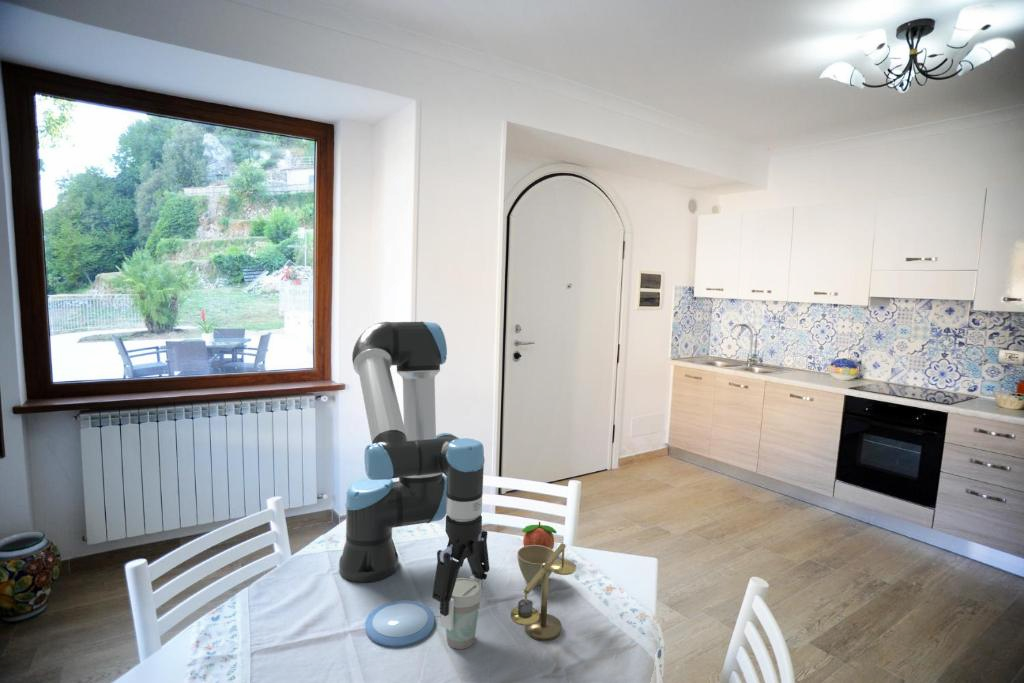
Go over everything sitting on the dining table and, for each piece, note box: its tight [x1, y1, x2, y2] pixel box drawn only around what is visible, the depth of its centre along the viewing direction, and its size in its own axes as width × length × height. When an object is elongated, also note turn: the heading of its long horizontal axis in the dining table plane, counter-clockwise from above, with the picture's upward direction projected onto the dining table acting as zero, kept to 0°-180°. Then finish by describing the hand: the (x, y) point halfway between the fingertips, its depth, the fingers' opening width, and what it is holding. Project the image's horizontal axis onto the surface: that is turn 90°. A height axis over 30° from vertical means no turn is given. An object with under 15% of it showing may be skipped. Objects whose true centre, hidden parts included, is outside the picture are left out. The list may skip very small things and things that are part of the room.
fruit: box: [521, 521, 557, 551], centre depth 155 cm, size 9×10×10 cm
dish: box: [364, 600, 435, 648], centre depth 123 cm, size 15×15×1 cm
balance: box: [510, 542, 577, 642], centre depth 123 cm, size 8×21×17 cm, turn 145°
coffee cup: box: [445, 577, 483, 650], centre depth 118 cm, size 9×8×12 cm
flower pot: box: [516, 545, 555, 586], centre depth 143 cm, size 10×10×7 cm
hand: (461, 616), depth 118 cm, fingers closed on coffee cup, 8 cm apart
